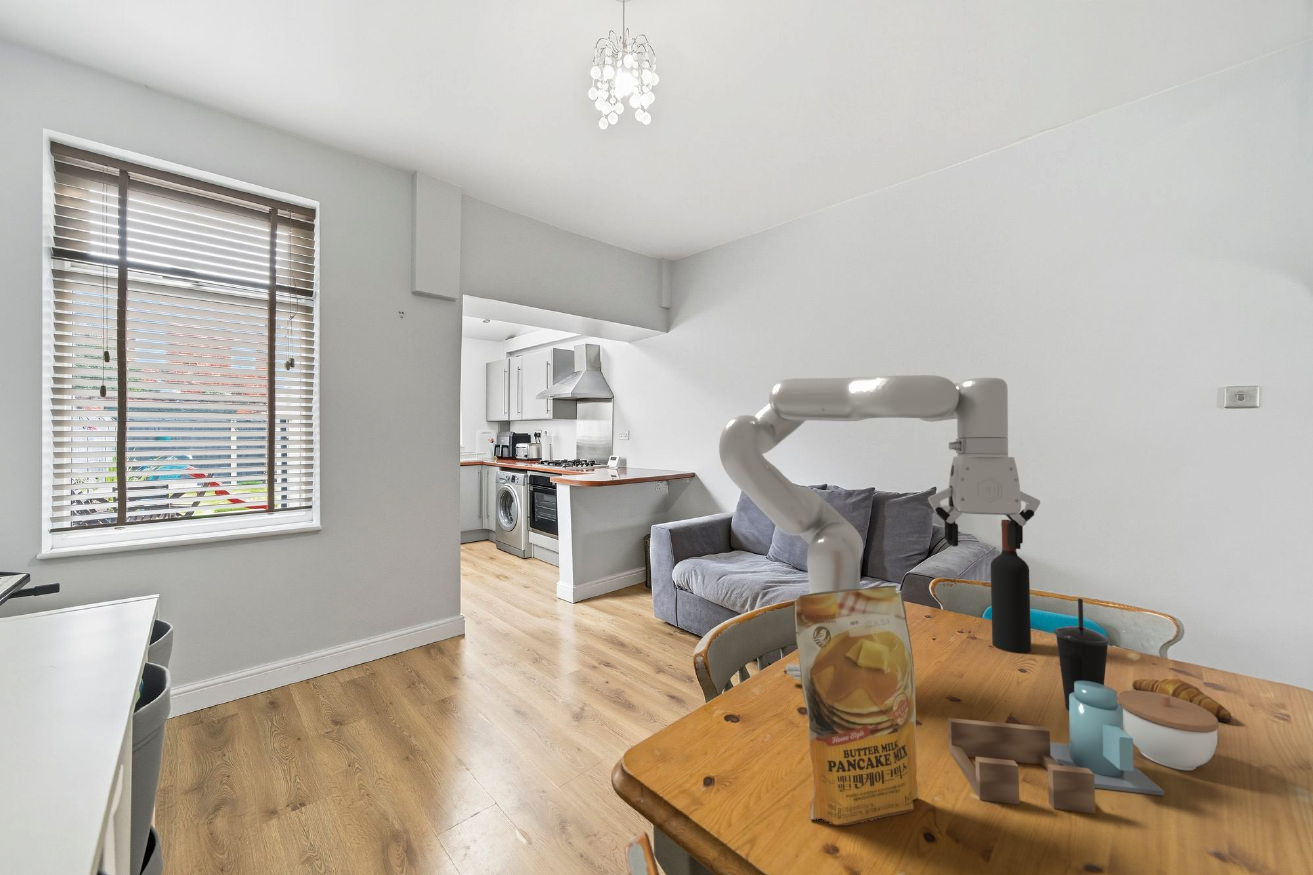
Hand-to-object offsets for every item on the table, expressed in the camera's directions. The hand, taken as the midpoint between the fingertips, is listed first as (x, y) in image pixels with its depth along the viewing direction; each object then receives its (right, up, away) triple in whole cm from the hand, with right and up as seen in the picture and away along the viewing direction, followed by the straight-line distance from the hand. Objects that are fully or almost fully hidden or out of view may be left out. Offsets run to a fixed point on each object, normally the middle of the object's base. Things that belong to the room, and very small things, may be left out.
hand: (982, 546), depth 89 cm
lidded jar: (+20, -30, -12) cm, 38 cm away
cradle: (-6, -30, -17) cm, 35 cm away
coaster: (+8, -30, -14) cm, 34 cm away
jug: (+7, -29, -16) cm, 34 cm away
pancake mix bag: (-30, -30, -22) cm, 48 cm away
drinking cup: (+19, -30, +2) cm, 36 cm away
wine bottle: (+27, -31, +32) cm, 52 cm away
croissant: (+38, -30, +4) cm, 49 cm away
